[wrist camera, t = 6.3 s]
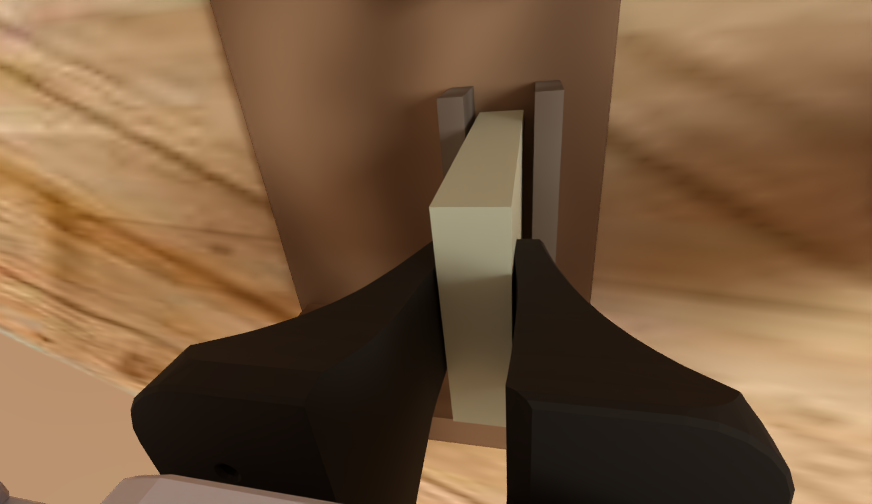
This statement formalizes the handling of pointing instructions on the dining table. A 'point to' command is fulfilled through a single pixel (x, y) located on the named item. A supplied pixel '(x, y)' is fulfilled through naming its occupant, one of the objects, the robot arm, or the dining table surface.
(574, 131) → the rack
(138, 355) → the dining table surface
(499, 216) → the beige flat block
